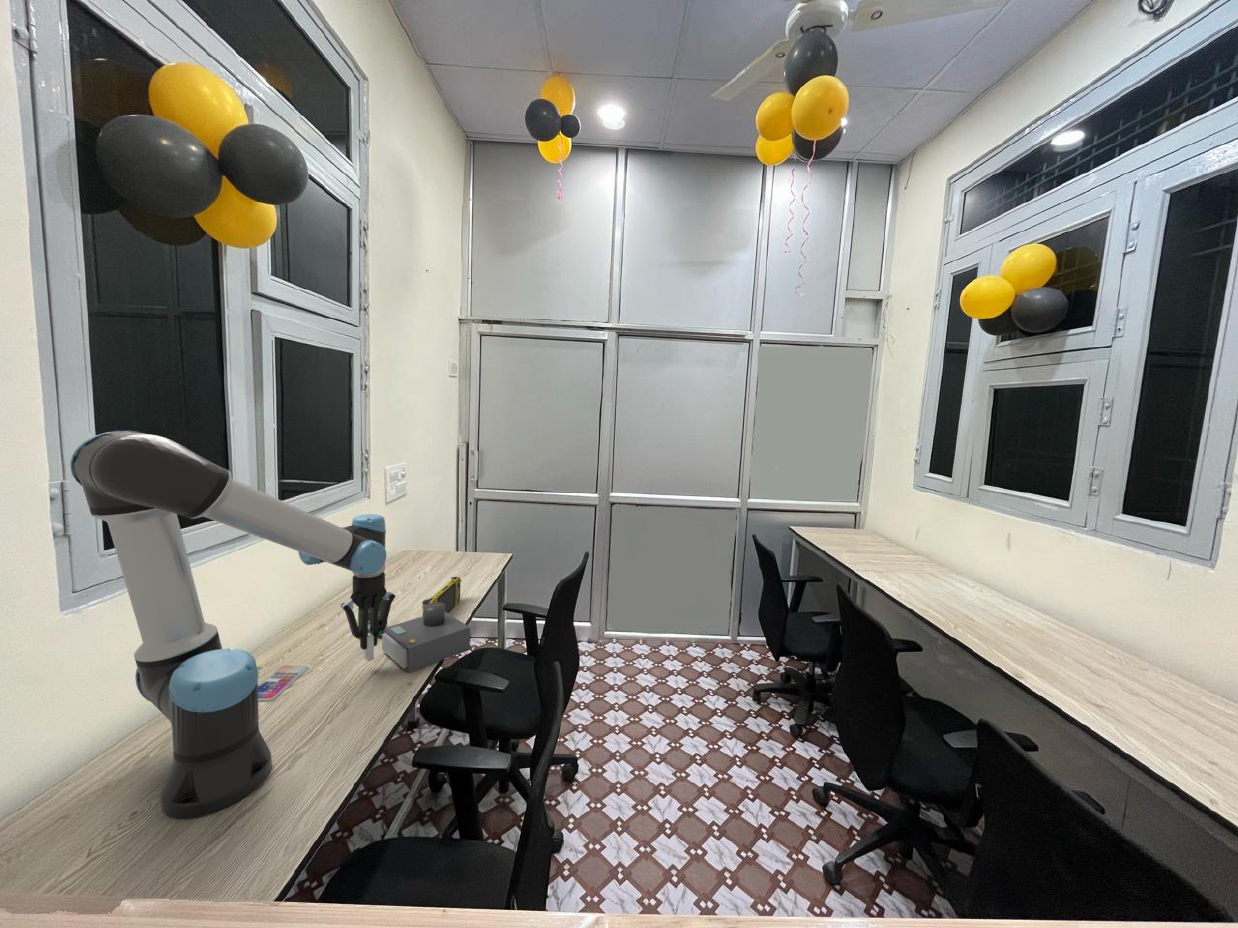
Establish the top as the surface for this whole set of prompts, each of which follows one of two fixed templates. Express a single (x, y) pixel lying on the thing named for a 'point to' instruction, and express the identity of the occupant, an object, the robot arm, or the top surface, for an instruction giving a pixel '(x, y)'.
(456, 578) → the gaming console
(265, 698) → the smartphone
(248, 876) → the top surface
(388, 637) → the sliding drawer insert
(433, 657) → the player
